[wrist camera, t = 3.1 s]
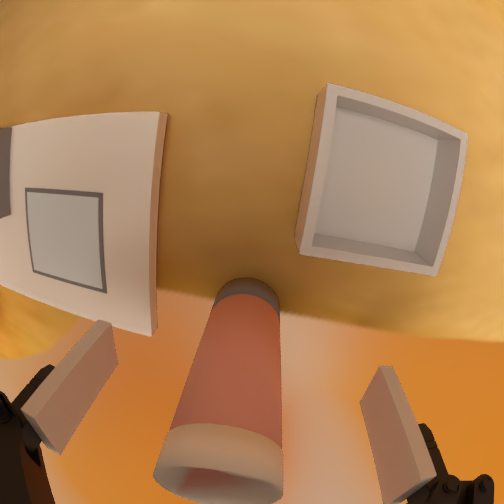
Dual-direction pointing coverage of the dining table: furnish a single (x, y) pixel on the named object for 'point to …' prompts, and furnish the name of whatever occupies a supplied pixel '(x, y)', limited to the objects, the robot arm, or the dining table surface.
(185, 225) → the dining table surface
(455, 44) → the dining table surface
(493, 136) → the dining table surface
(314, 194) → the tray
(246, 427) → the tumbler
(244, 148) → the dining table surface
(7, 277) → the board
